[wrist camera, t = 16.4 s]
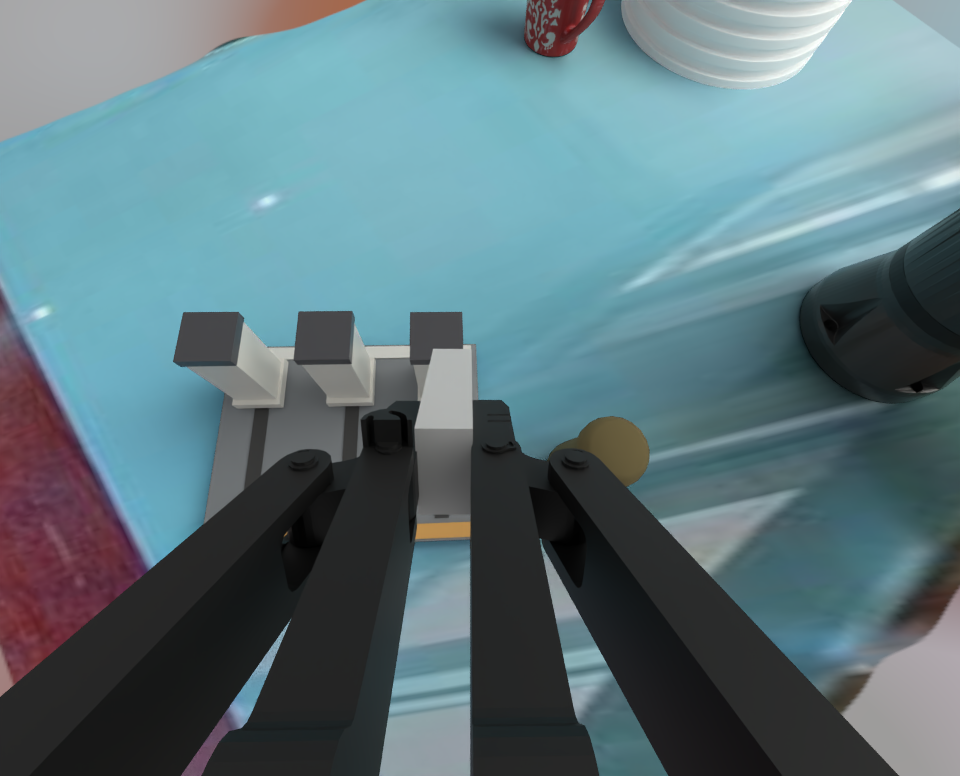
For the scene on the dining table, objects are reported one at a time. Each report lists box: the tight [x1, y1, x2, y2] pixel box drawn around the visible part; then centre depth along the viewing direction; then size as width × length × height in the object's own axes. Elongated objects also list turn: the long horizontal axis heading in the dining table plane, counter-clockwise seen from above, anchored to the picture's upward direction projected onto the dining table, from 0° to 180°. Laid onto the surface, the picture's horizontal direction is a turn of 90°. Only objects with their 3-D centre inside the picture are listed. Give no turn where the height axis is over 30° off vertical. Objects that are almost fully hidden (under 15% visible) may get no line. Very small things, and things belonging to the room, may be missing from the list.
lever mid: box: [293, 311, 376, 407], centre depth 36 cm, size 4×4×10 cm
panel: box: [204, 344, 478, 542], centre depth 40 cm, size 18×23×1 cm
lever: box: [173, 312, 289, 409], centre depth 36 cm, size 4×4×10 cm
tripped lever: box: [410, 312, 463, 401], centre depth 37 cm, size 4×4×10 cm
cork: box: [547, 416, 649, 487], centre depth 36 cm, size 6×6×11 cm
